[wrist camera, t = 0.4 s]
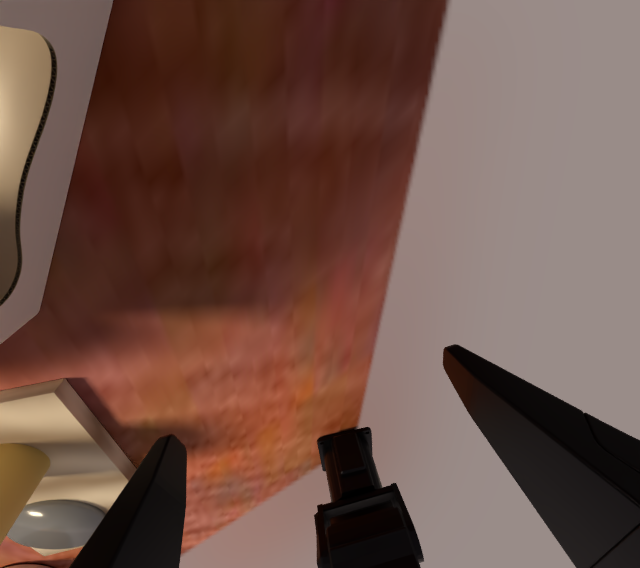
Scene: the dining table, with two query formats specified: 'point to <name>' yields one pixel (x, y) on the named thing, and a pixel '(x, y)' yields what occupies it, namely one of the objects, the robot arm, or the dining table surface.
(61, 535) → the slate seat
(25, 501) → the yellow cylinder
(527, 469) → the robot arm
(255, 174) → the dining table surface
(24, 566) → the beverage bottle
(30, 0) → the gable box
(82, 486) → the base board
